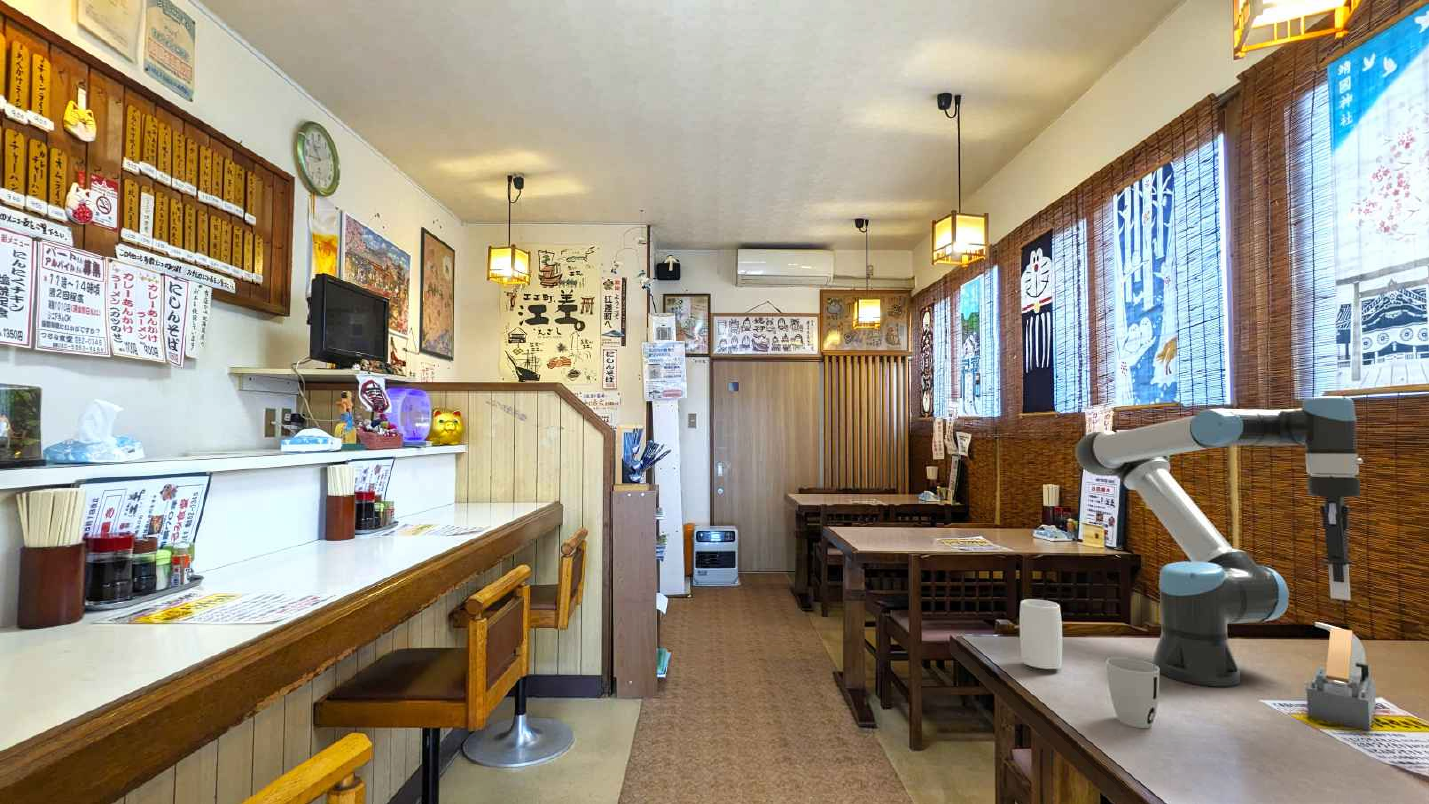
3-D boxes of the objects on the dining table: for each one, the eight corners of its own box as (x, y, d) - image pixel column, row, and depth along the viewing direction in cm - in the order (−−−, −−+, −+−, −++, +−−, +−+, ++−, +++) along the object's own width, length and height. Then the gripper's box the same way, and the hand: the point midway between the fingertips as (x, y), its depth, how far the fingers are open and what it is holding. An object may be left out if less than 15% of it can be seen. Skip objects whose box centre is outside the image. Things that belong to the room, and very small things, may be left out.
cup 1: (1053, 678, 140) (1051, 610, 141) (1014, 667, 146) (1012, 602, 147) (1069, 669, 145) (1067, 603, 146) (1030, 659, 152) (1028, 597, 153)
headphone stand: (1317, 680, 139) (1314, 622, 140) (1344, 679, 139) (1340, 621, 140) (1340, 688, 134) (1337, 628, 135) (1367, 687, 135) (1363, 627, 135)
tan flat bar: (1349, 683, 119) (1348, 679, 118) (1326, 679, 121) (1326, 674, 121) (1352, 634, 127) (1351, 630, 126) (1331, 631, 129) (1330, 627, 129)
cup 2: (1162, 735, 112) (1160, 675, 113) (1107, 725, 116) (1105, 667, 117) (1160, 719, 119) (1158, 662, 120) (1108, 709, 123) (1106, 654, 124)
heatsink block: (1369, 730, 114) (1367, 685, 115) (1308, 716, 120) (1305, 673, 121) (1375, 706, 125) (1373, 665, 126) (1318, 694, 131) (1316, 655, 132)
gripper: (1356, 477, 122) (1365, 607, 120) (1362, 475, 130) (1370, 596, 129) (1302, 476, 127) (1310, 600, 125) (1311, 474, 136) (1318, 590, 134)
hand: (1340, 598), depth 127 cm, fingers closed
